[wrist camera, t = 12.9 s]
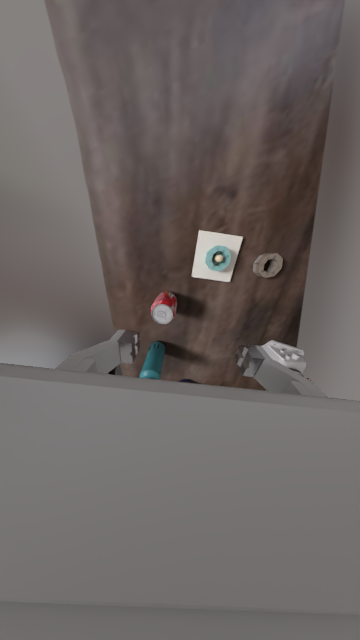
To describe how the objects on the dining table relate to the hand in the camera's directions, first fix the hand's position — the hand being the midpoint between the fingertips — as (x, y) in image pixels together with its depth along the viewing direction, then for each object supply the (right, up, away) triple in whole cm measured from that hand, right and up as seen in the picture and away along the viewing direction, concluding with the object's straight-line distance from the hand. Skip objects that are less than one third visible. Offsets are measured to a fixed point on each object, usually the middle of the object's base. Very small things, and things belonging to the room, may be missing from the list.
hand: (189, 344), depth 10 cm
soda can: (-5, +9, +34) cm, 36 cm away
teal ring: (+10, +20, +27) cm, 35 cm away
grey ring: (+24, +19, +28) cm, 42 cm away
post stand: (+10, +20, +28) cm, 36 cm away
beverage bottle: (-10, -9, +43) cm, 45 cm away
